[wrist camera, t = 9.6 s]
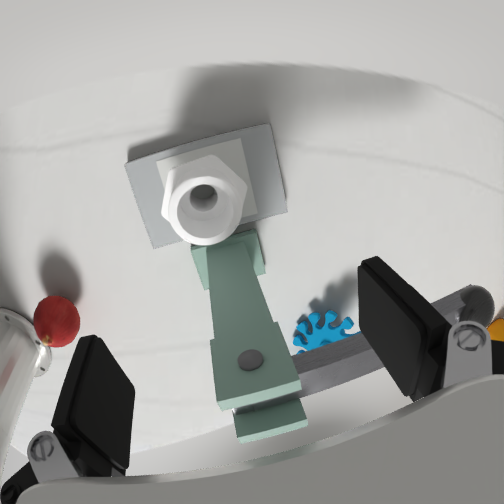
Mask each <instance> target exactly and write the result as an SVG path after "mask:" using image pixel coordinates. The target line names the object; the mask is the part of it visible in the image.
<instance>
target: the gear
mask: <svg viewBox="0 0 504 504" xmlns="http://www.w3.org/2000/svg"><path fill="white" fill-rule="evenodd" d="M336 318H337V313H336V312H334V311H331V310H329V311H328V312H327V313H326V314H325V319H326V321H325V325H324V326H323V327H320V326H319V325H318V320H319V319H320V314H319V313H311V314H310V315H309V316H308V319H309V321H310V322H311V324H312V327H313V333H311V332H309V330H308V323H307V322H306V321H303V322H301V323H300V324H299V325H298V326H297V327H296V328H297V330H298V331H300V332H301V333H303V334H304V335H305V337H306V338H307V340H308V342H305V341H304V339H303V337H302V336H301V335H297V336H296V337H295V338H294V340H293V344H294V345H295V346H301V347H304V348H305V349H307V350H308V351H309V350H312V349H315V348H318V347H321V346H324V345H327V344H330V343H333V342H336V341H339V340H341V339H344V338H347V337H350V336H353V335H355V334H358V333H361V331H359V332H357V333H355V334H345V330H344V329H351V328H352V326H353V325H354V323H353V321H352V320H351V319H350V318H349V317H346V318H345V319H344V321H343V322H342V324H341V325H339V326H337V327H332V326H331V325H330V322H332V321H334V320H335V319H336ZM303 352H305V351H304V350H300V351H299V352H298V353H297V354H300V353H303Z"/></svg>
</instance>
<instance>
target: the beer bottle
mask: <svg viewBox="0 0 504 504" xmlns="http://www.w3.org/2000/svg"><path fill="white" fill-rule="evenodd" d="M487 330H488V332H489V334H490V338H491V340H498V341H504V319H497V320H495V321H494V322H493V323H492V324H491V325H490V326H489V327H488V328H487Z"/></svg>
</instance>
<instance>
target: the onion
mask: <svg viewBox="0 0 504 504" xmlns="http://www.w3.org/2000/svg"><path fill="white" fill-rule="evenodd" d="M33 322H34V329H35V331H36V334H37V336H38V338H39V339H40V340H41V341H42V342H43V344H44V345H45V346H50V347H63V346H65V345H67V344H69V343H71V342H72V341H73V340H74V339H75V337H76V335H77V333H78V331H79V328H80V317H79V313H78V311H77V308H76V307H75V306H74V304H73V303H72V302H70V301H69V300H68V299H66V298H64V297H61V296H48V297H46V298H44V299H43V300H42V301H40V302H39V304H38V306H37V308H36V310H35V312H34V317H33Z"/></svg>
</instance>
